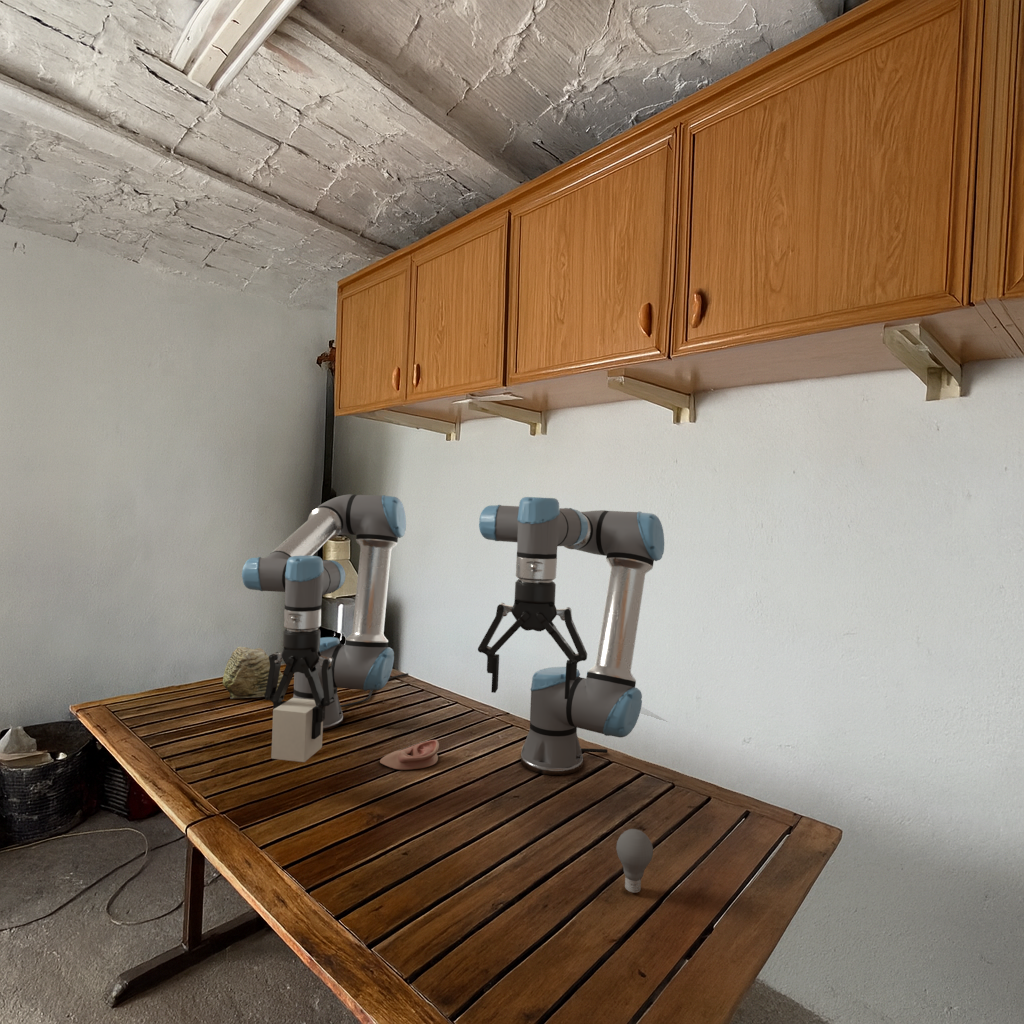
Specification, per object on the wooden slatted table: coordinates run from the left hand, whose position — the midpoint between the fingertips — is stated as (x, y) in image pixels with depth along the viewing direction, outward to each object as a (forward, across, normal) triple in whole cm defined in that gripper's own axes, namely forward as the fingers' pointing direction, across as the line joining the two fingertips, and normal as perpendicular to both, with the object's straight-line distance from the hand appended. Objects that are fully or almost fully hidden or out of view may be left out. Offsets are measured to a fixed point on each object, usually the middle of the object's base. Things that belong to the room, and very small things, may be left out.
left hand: (298, 734), depth 136 cm
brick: (+4, 0, 0) cm, 4 cm away
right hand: (-16, +51, -10) cm, 54 cm away
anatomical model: (+12, +19, +21) cm, 30 cm away
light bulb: (+12, +70, -20) cm, 74 cm away
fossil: (+12, -44, +56) cm, 72 cm away
